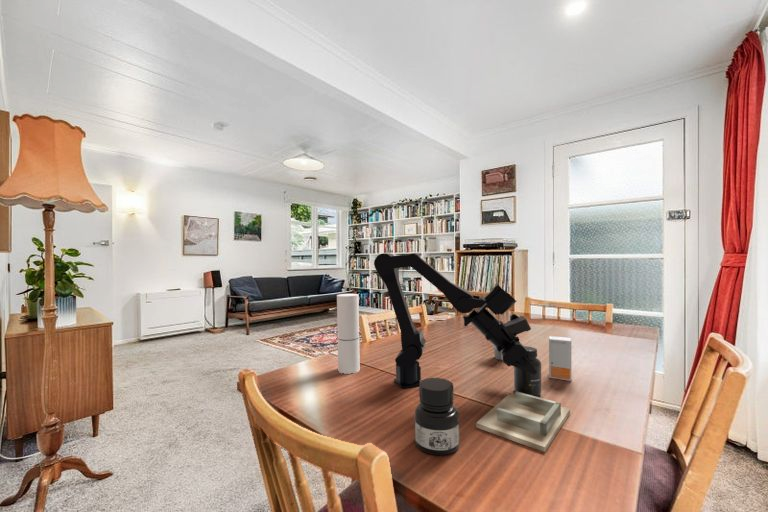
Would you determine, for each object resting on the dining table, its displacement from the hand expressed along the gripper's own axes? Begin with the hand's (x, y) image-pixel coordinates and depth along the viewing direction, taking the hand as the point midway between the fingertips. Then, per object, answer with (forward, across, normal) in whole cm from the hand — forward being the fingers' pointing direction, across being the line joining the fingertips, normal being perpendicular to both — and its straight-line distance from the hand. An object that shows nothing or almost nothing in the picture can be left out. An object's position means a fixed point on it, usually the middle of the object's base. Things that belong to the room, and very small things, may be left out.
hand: (532, 368), depth 89 cm
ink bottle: (-12, -29, +22) cm, 38 cm away
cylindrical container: (-34, +7, +44) cm, 56 cm away
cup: (+1, +29, +8) cm, 30 cm away
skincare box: (+12, +13, -2) cm, 18 cm away
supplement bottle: (+4, 0, +6) cm, 7 cm away
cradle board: (+1, -16, +8) cm, 18 cm away
